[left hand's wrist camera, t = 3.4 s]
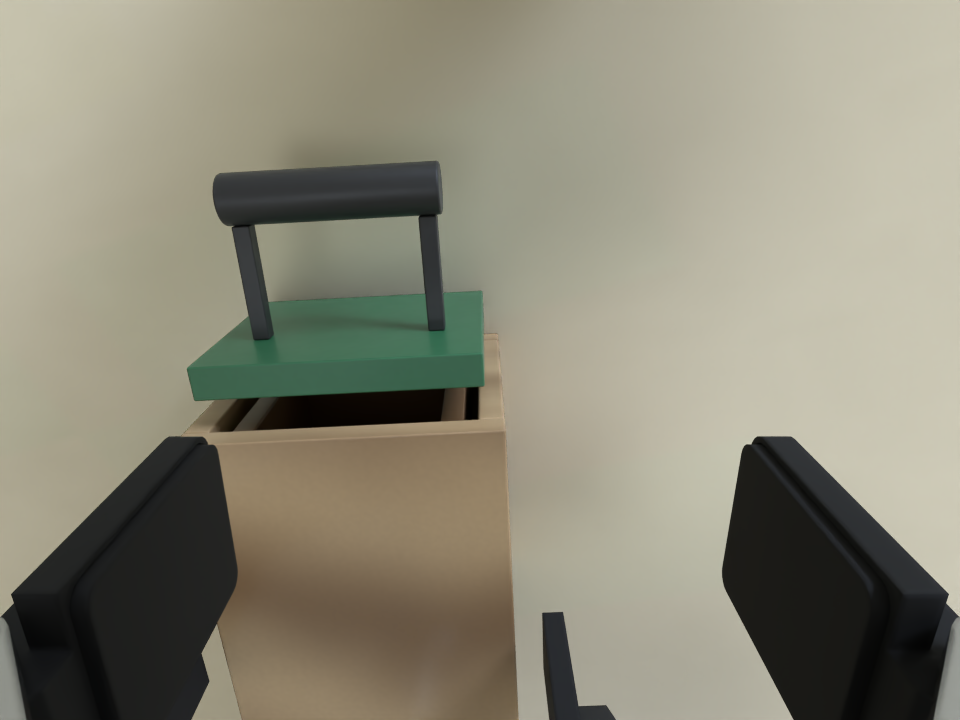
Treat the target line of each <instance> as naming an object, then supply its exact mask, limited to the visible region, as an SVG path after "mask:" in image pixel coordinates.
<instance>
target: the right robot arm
mask: <svg viewBox="0 0 960 720" xmlns="http://www.w3.org/2000/svg"><path fill="white" fill-rule="evenodd" d="M542 619H543V664H544V676H545V685H546V694H547V703H548V712H549V720H616V719H615V718H614V716H613V715H612V713H611V712H610V710H609V709H608V707H607V706H606V705H602V706H578V701H577V695H576V689H575V683H574V677H573V670H572V664H571V658H570V652H569V646H568V640H567V634H566V628H565V622H564V615H563V612H552V613H542ZM208 683H209V678H208V675H207V671H206V668H205V664H204V661H203V657H202V654H201V655H200V657H199V658H198V660H197V662H196V664H195V666H194V668H193V670H192V672H191V674H190V676H189V678H188V679H187V681H186V683H185V685H184V687H183V689H182V691H181V693H180V695H179V697H178V698H177V700H176V702H175V704H174V706H173V708H172V710H171V712H170V714H169V716H168V718H167V719H166V720H191V719H192V717H193V715H194V713H195V711H196V709H197V706H198V704H199V702H200V700H201V698H202V696H203V694H204V692H205V690H206V687H207V685H208Z"/></svg>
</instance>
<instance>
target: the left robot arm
mask: <svg viewBox="0 0 960 720" xmlns="http://www.w3.org/2000/svg"><path fill="white" fill-rule="evenodd" d="M237 578H238V567H237V561H236V555H235V549H234V543H233V537H232V531H231V525H230V519H229V513H228V507H227V501H226V495H225V489H224V483H223V477H222V472H221V466H220V460H219V454H218V450H217V448H216V446H215V445H208V442H207V440H206V439H205V438H204V437H168V438H166V439H165V440H164V441H163V442H162V443H161V444H160V445H159V446H158V447H157V448H156V449H155V450H154V451H153V452H152V453H151V454H150V455H149V456H148V457H147V458H146V459H145V460H144V461H143V462H142V463H141V464H140V465H139V466H138V467H137V468H136V469H135V470H134V471H133V472H132V473H131V474H130V475H129V476H128V477H127V478H126V479H125V480H124V481H123V482H122V483H121V484H120V485H119V486H118V487H117V488H116V489H115V490H114V491H113V492H112V493H111V494H110V495H109V496H108V497H107V498H106V499H105V500H104V501H103V502H102V503H101V504H100V505H99V506H98V507H97V508H96V509H95V510H94V511H93V512H92V513H91V514H90V515H89V516H88V517H87V518H86V519H85V520H84V521H83V522H82V523H81V524H80V525H79V526H78V527H77V528H76V529H75V530H74V531H73V532H72V533H71V534H70V535H69V536H68V537H67V538H66V539H65V540H64V541H63V542H62V543H61V544H60V546H59V547H58V548H57V549H56V550H55V551H54V552H53V553H52V554H51V555H50V556H49V557H48V558H47V559H46V560H45V561H44V562H43V563H42V564H41V565H40V566H39V567H38V568H37V569H36V570H35V571H34V572H33V573H32V574H31V575H30V576H29V577H28V578H27V579H26V580H25V581H24V582H23V583H22V584H21V585H20V586H19V587H18V588H17V589H16V590H15V591H14V592H13V593H12V594H11V595H12V598H13V601H14V604H13V605H12V606H11V607H10V608H9V609H8V610H7V611H6V612H5V613H4V614H3V615H2V616H1V617H0V720H166V719H167V718H168V716H169V714H170V712H171V710H172V708H173V706H174V704H175V702H176V700H177V698H178V697H179V695H180V693H181V691H182V689H183V687H184V685H185V683H186V681H187V679H188V678H189V676H190V674H191V672H192V670H193V668H194V666H195V664H196V662H197V660H198V658H199V657H200V655H201V653H202V651H203V649H204V647H205V645H206V643H207V641H208V639H209V638H210V636H211V634H212V632H213V630H214V628H215V626H216V624H217V622H218V620H219V619H220V617H221V615H222V613H223V611H224V609H225V607H226V605H227V603H228V601H229V599H230V598H231V596H232V594H233V592H234V590H235V587H236V583H237ZM722 578H723V583H724V587H725V590H726V592H727V594H728V596H729V598H730V599H731V601H732V603H733V605H734V607H735V609H736V611H737V613H738V615H739V617H740V619H741V620H742V622H743V624H744V626H745V628H746V630H747V632H748V634H749V636H750V638H751V639H752V641H753V643H754V645H755V647H756V649H757V651H758V653H759V655H760V657H761V658H762V660H763V662H764V664H765V666H766V668H767V670H768V672H769V674H770V676H771V678H772V679H773V681H774V683H775V685H776V687H777V689H778V691H779V693H780V695H781V697H782V698H783V700H784V702H785V704H786V706H787V708H788V710H789V712H790V714H791V716H792V718H793V719H794V720H960V617H959V616H958V615H957V614H956V613H955V612H954V611H953V610H952V609H951V608H950V607H949V606H948V605H947V604H946V601H947V598H948V595H949V594H948V593H947V592H946V591H945V590H944V589H943V588H942V587H941V586H940V585H939V584H938V583H937V582H936V581H935V580H934V579H933V578H932V577H931V576H930V575H929V574H928V573H927V572H926V571H925V570H924V569H923V568H922V567H921V566H920V565H919V564H918V563H917V562H916V561H915V560H914V559H913V558H912V557H911V556H910V555H909V554H908V553H907V552H906V551H905V550H904V549H903V548H902V547H901V546H900V545H899V543H898V542H897V541H896V540H895V539H894V538H893V537H892V536H891V535H890V534H889V533H888V532H887V531H886V530H885V529H884V528H883V527H882V526H881V525H880V524H879V523H878V522H877V521H876V520H875V519H874V518H873V517H872V516H871V515H870V514H869V513H868V512H867V511H866V510H865V509H864V508H863V507H862V506H861V505H860V504H859V503H858V502H857V501H856V500H855V499H854V498H853V497H852V496H851V495H850V494H849V493H848V492H847V491H846V490H845V489H844V488H843V487H842V486H841V485H840V484H839V483H838V482H837V481H836V480H835V479H834V478H833V477H832V476H831V475H830V474H829V473H828V472H827V471H826V470H825V469H824V468H823V467H822V466H821V465H820V464H819V463H818V462H817V461H816V460H815V459H814V458H813V457H812V456H811V455H810V454H809V453H808V452H807V451H806V450H805V449H804V448H803V447H802V446H801V445H800V444H799V443H798V442H797V441H796V440H795V439H794V438H792V437H756V438H755V439H754V440H753V442H752V445H745V446H744V448H743V450H742V454H741V460H740V466H739V472H738V477H737V483H736V489H735V495H734V501H733V507H732V513H731V519H730V525H729V531H728V537H727V543H726V549H725V555H724V561H723V567H722Z"/></svg>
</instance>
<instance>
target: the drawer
mask: <svg viewBox="0 0 960 720" xmlns="http://www.w3.org/2000/svg"><path fill="white" fill-rule="evenodd" d="M213 200H214V205H215V209H216V212H217V214H218V217H219V219H220V220H221V222H222V223H223V224H225V225H227V226H233V227H232V232H233V237H234V242H235V247H236V252H237V258H238V263H239V268H240V273H241V278H242V283H243V289H244V294H245V299H246V304H247V309H248V314H249V316H248V317H247V318H246V319H245V320H244V321H242V322H241V323H240V324H239V325H238V326H236V327H235V328H234V329H233V330H232V331H230V332H229V333H228V334H227V335H226V336H225V337H223V338H222V339H221V340H220V341H219V342H217V343H216V344H215V345H214V346H213V347H211V348H210V349H209V350H208V351H207V352H205V353H204V354H203V355H202V356H201V357H200V358H198V359H197V360H196V361H195V362H194V363H192V364H191V365H190V366H189V367H188V368H187V372H188V376H189V380H190V384H191V389H192V393H193V397H194V400H195V401H205V400H226V399H246V398H259V399H258V401H257V402H256V403H255V404H254V406H253V407H252V408H251V409H250V411H249V412H248V413H247V414H246V416H245V417H244V418H243V419H242V421H241V422H240V423H239V424H238V426H237V427H236V428H235V429H234V431H233V432H237V431H258V430H278V429H299V428H320V427H340V426H361V425H381V424H402V423H423V422H443V421H464V420H472V409H471V393H470V387H483V386H484V385H485V370H484V313H483V295H482V291H469V292H450V293H443V283H442V270H441V257H440V244H439V231H438V218H437V215H439V214H442V211H443V194H442V179H441V170H440V164H439V162H438V161H425V162H408V163H390V164H373V165H355V166H337V167H320V168H302V169H285V170H267V171H250V172H232V173H220V174H218V175H216V177H215V179H214V182H213ZM403 216H419V230H420V241H421V252H422V264H423V275H424V286H425V294H412V295H393V296H374V297H355V298H336V299H317V300H298V301H279V302H268V298H267V292H266V287H265V281H264V276H263V270H262V264H261V259H260V253H259V248H258V242H257V237H256V231H255V226H254V225H258V224H276V223H294V222H312V221H330V220H348V219H366V218H385V217H403Z"/></svg>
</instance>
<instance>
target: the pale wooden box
mask: <svg viewBox="0 0 960 720" xmlns="http://www.w3.org/2000/svg"><path fill="white" fill-rule="evenodd" d="M484 370H485V385H484V386H483V387H470V393H471V409H472V420H464V421H443V422H423V423H402V424H381V425H361V426H340V427H320V428H299V429H278V430H258V431H237V432H233V431H234V429H235V428H236V427H237V426H238V424H239V423H240V422H241V421H242V419H243V418H244V417H245V416H246V414H247V413H248V412H249V411H250V409H251V408H252V407H253V406H254V404H255V403H256V402H257V401H258V399H259V398H246V399H226V400H215V401H214V402H213V403H212V404H211V405H210V406H209V407H208V408H207V409H206V410H205V411H204V412H203V413H202V415H201V416H200V417H199V418H198V419H197V420H196V421H195V422H194V423H193V424H192V425H191V426H190V427H189V428H188V429H187V430H186V431H185V432H184V434H183V435H182V436H181V437H204V438H205V439H206V440H207V442H208V445H215V446H216V448H217V450H218V454H219V460H220V466H221V472H222V477H223V483H224V489H225V495H226V501H227V507H228V513H229V519H230V525H231V531H232V537H233V543H234V549H235V555H236V561H237V567H238V578H237V583H236V587H235V590H234V592H233V594H232V596H231V598H230V599H229V601H228V603H227V605H226V607H225V609H224V611H223V613H222V615H221V617H220V619H219V620H218V622H217V625H218V629H219V633H220V637H221V641H222V644H223V648H224V652H225V656H226V660H227V664H228V668H229V671H230V675H231V679H232V683H233V687H234V691H235V694H236V698H237V702H238V706H239V710H240V714H241V718H242V720H519V719H518V696H517V674H516V651H515V629H514V606H513V584H512V561H511V539H510V516H509V494H508V471H507V449H506V428H505V416H504V404H503V392H502V379H501V367H500V355H499V342H498V335H497V334H484Z"/></svg>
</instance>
